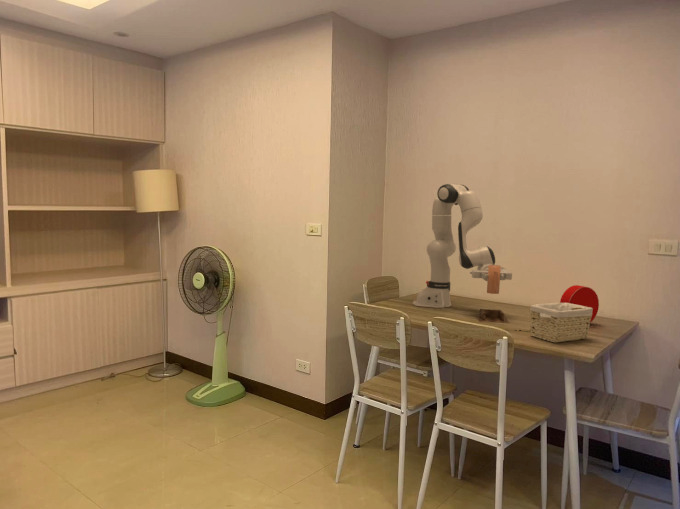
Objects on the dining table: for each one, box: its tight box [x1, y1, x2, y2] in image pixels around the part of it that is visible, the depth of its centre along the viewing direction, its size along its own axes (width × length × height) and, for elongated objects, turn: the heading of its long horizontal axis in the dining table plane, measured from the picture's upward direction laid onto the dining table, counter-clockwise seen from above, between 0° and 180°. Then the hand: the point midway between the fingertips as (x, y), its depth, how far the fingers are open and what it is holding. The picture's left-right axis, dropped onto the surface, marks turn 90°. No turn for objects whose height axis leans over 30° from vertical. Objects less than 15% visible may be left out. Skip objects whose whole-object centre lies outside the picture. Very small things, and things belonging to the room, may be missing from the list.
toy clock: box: [559, 284, 600, 324], centre depth 263 cm, size 20×6×20 cm, turn 111°
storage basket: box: [529, 302, 593, 343], centre depth 236 cm, size 24×16×15 cm
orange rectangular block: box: [486, 264, 502, 295], centre depth 264 cm, size 6×8×14 cm
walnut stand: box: [474, 308, 511, 324], centre depth 267 cm, size 15×15×5 cm
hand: (494, 276), depth 264 cm, fingers closed on orange rectangular block, 6 cm apart
